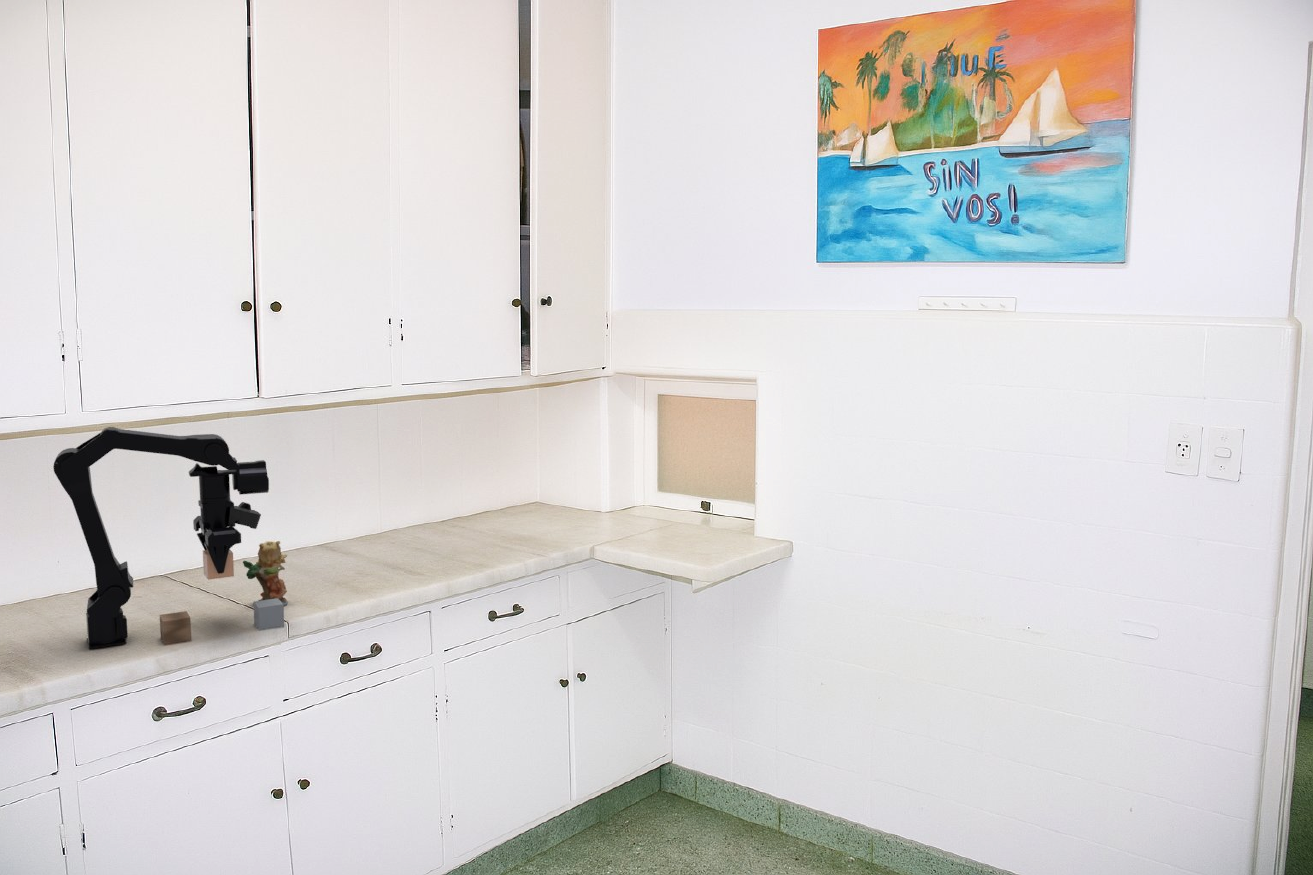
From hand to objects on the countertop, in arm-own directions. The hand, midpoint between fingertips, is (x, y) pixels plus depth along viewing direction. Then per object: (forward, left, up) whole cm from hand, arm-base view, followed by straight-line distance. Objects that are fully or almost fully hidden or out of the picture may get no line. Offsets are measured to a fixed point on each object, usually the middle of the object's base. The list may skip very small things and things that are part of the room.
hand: (218, 570), depth 211 cm
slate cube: (+9, -3, -13) cm, 16 cm away
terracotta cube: (0, 0, -1) cm, 1 cm away
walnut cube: (-9, -3, -13) cm, 16 cm away
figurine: (+12, +12, -13) cm, 21 cm away
